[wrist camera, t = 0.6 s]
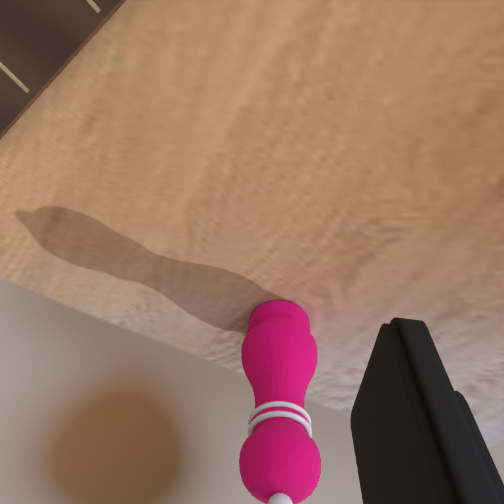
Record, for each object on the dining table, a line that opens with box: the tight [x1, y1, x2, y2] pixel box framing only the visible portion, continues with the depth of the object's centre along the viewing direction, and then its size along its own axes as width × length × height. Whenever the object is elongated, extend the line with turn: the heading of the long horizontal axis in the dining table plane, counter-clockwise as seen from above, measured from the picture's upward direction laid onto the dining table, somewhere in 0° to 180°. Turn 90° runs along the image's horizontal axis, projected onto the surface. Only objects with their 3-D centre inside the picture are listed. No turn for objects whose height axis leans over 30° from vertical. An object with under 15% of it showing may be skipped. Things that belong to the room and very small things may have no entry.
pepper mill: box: [239, 300, 321, 504], centre depth 38 cm, size 7×7×20 cm
